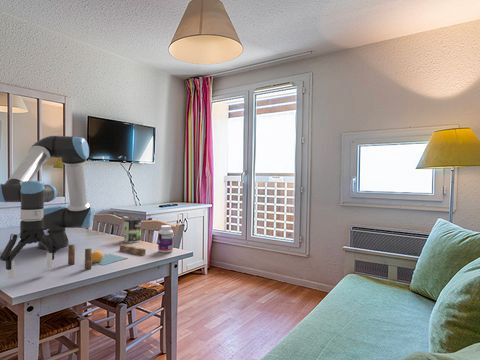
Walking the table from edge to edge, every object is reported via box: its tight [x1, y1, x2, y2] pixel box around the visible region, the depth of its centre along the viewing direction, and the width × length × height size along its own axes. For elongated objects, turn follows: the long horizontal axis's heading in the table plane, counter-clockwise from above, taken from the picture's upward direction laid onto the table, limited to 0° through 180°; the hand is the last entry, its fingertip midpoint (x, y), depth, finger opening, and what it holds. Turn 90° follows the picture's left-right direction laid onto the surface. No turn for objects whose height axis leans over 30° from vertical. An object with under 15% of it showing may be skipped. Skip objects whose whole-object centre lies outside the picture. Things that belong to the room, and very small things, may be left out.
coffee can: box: [123, 217, 142, 244], centre depth 187 cm, size 10×10×14 cm
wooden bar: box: [119, 244, 147, 256], centre depth 160 cm, size 18×2×3 cm, turn 61°
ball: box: [91, 250, 104, 264], centre depth 141 cm, size 6×6×6 cm
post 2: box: [84, 247, 93, 271], centre depth 131 cm, size 3×3×9 cm
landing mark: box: [91, 253, 128, 266], centre depth 146 cm, size 14×14×1 cm
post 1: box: [67, 244, 76, 266], centre depth 137 cm, size 3×3×9 cm
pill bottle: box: [157, 224, 174, 254], centre depth 164 cm, size 8×8×14 cm
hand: (31, 272), depth 117 cm, fingers open, 13 cm apart
